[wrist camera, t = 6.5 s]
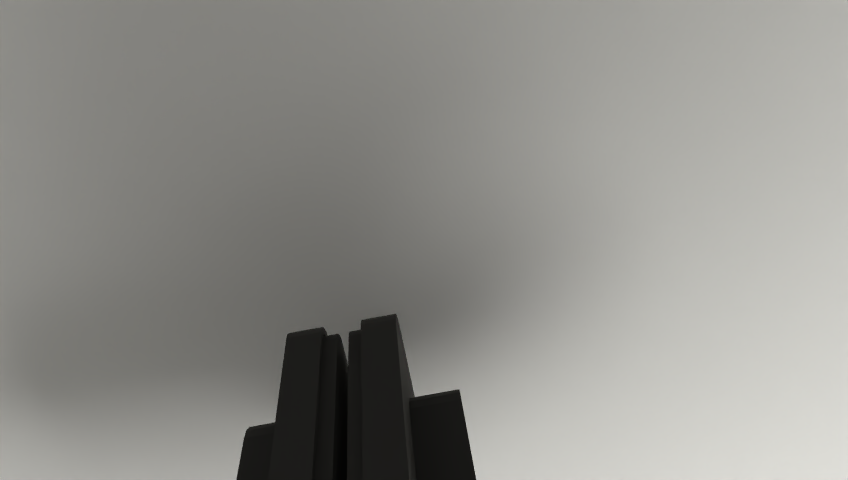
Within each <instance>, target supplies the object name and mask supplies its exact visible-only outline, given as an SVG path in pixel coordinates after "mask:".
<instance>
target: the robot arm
mask: <svg viewBox="0 0 848 480" xmlns="http://www.w3.org/2000/svg"><path fill="white" fill-rule="evenodd" d="M237 480H476V476H475V471H474V466H473V460H472V455H471V450H470V444H469V439H468V433H467V428H466V423H465V417H464V412H463V406H462V401H461V396H460V390H453V391H448V392H442V393H436V394H431V395H425V396H420V397H415V396H414V392H413V387H412V382H411V378H410V373H409V368H408V364H407V359H406V354H405V350H404V345H403V340H402V336H401V331H400V326H399V322H398V318H397V315H396V314H393V315H387V316H382V317H376V318H370V319H365V320H361V330H357V331H351V332H349V351H348V364H347V360H346V356H345V352H344V348H343V344H342V341H341V338H340V335H339V334H335V335H329V336H327V332H326V330H325V328H324V327H321V328H315V329H310V330H304V331H299V332H293V333H289V334H287V338H286V346H285V353H284V361H283V368H282V376H281V383H280V391H279V398H278V406H277V413H276V421H275V423H270V424H264V425H259V426H253V427H249V428H248V429H247V430H246V433H245V437H244V441H243V447H242V452H241V458H240V464H239V469H238V475H237Z"/></svg>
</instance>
